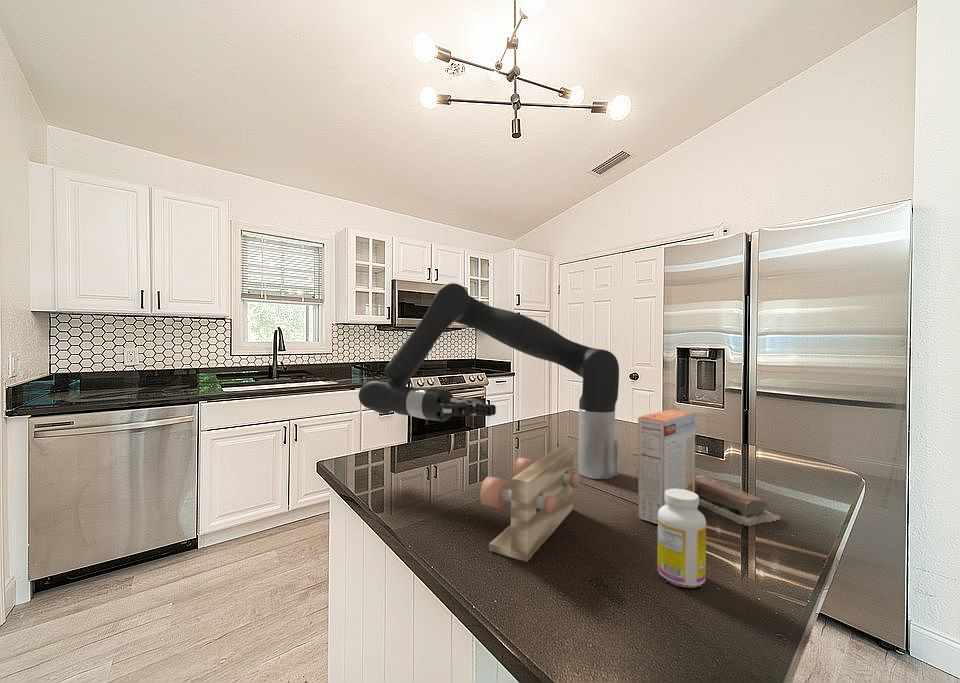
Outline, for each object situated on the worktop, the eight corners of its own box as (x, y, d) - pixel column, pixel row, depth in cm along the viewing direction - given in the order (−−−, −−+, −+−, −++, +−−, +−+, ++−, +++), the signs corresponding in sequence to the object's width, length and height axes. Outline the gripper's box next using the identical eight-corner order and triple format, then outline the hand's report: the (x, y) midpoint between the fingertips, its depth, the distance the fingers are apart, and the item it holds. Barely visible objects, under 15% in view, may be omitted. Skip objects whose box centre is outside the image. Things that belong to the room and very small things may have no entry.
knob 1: (479, 508, 75) (480, 481, 74) (493, 499, 79) (493, 473, 79) (547, 525, 68) (548, 495, 68) (558, 514, 73) (558, 486, 72)
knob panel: (489, 550, 71) (490, 474, 71) (541, 502, 92) (542, 443, 91) (527, 562, 67) (528, 481, 67) (572, 509, 88) (573, 448, 88)
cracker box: (667, 501, 93) (669, 407, 93) (695, 510, 88) (697, 411, 88) (635, 518, 84) (636, 415, 84) (664, 529, 79) (666, 420, 79)
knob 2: (513, 485, 87) (513, 461, 87) (523, 478, 91) (523, 455, 91) (573, 497, 80) (574, 471, 80) (581, 489, 85) (581, 464, 85)
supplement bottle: (694, 567, 66) (696, 486, 66) (713, 592, 60) (715, 503, 60) (651, 564, 67) (652, 485, 67) (665, 589, 61) (666, 501, 60)
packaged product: (673, 475, 98) (706, 471, 101) (673, 495, 98) (705, 491, 101) (745, 505, 81) (781, 499, 84) (745, 530, 81) (781, 523, 84)
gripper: (412, 390, 94) (478, 397, 86) (445, 385, 106) (507, 390, 97) (411, 424, 94) (478, 433, 86) (445, 414, 106) (506, 422, 98)
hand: (493, 410), depth 92 cm, fingers closed
